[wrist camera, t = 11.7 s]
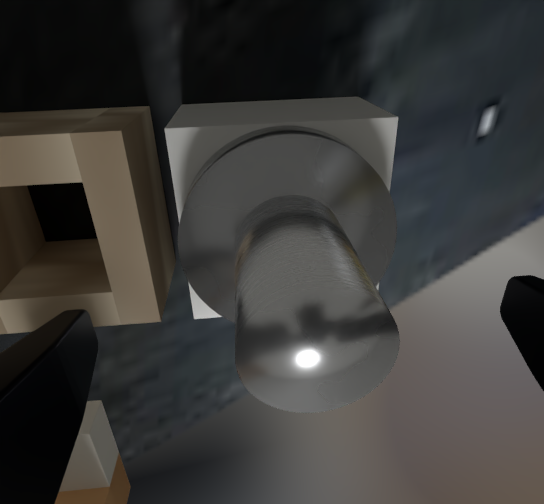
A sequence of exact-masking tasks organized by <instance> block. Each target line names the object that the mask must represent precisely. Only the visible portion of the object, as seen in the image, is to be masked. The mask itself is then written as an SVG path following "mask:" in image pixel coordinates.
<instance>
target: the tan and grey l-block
mask: <svg viewBox="0 0 544 504" xmlns="http://www.w3.org/2000/svg"><path fill="white" fill-rule="evenodd" d="M129 491H130V484H129V481H128V478H127V475H126V472H125V469H124V466H123V463H122V460H121V457H120V454H119V451H118V449H117V446H116V443H115V440H114V437H113V434H112V431H111V428H110V425H109V422H108V419H107V416H106V413H105V410H104V407H103V404H102V401H101V400H98V401H87V404H86V409H85V413H84V417H83V421H82V424H81V427H80V430H79V433H78V436H77V439H76V442H75V445H74V448H73V451H72V454H71V457H70V460H69V463H68V466H67V469H66V472H65V475H64V478H63V481H62V484H61V487H60V490H59V492H58V495H57V498H56V501H55V504H127V500H128V495H129Z"/></svg>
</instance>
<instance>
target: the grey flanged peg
mask: <svg viewBox="0 0 544 504" xmlns="http://www.w3.org/2000/svg"><path fill="white" fill-rule="evenodd" d="M396 234H397V221H396V212H395V208H394V204H393V200H392V198H391V195H390V193H389V191H388V188H387V187H386V185H385V183H384V182H383V180H382V178H381V177H380V176H379V174H378V173H377V172H376V171H375V170H374V168H373V167H372V166H371V165H370V164H369V163H368V162H367V161H366V160H365V159H363V158H362V157H361V156H360V155H359V154H358V153H357V152H356V151H355V150H354V149H353V148H351V147H350V146H349V145H348V144H346V143H345V142H343V141H342V140H340V139H339V138H337V137H335V136H333V135H330V134H328V133H326V132H323V131H320V130H317V129H313V128H309V127H302V126H287V125H282V126H273V127H266V128H263V129H259V130H255V131H252V132H249V133H247V134H244V135H242V136H240V137H238V138H236V139H234V140H232V141H231V142H229V143H227V144H226V145H225V146H223V147H222V148H221V149H219V150H218V151H217V152H215V153H214V154H213V155H212V156H211V157H210V158H209V159H208V160H207V161H206V163H205V164H204V165H203V167H202V168H201V169H200V171H199V172H198V173H197V175H196V177H195V179H194V180H193V182H192V184H191V186H190V189H189V191H188V194H187V197H186V200H185V204H184V207H183V211H182V214H181V219H180V223H179V228H178V251H179V257H180V261H181V265H182V268H183V271H184V273H185V276H186V278H187V280H188V282H189V283H190V285H191V287H192V289H193V290H194V291H195V293H196V294H197V295H198V296H199V298H200V299H201V300H202V301H203V302H204V303H205V304H206V305H207V306H208V307H209V308H211V309H212V310H213V311H215V312H216V313H217V314H219V315H220V316H222V317H224V318H226V319H227V320H229V321H231V322H234V323H235V363H236V369H237V372H238V375H239V378H240V380H241V381H242V383H243V385H244V386H245V387H246V388H247V390H248V391H249V392H250V393H251V394H252V395H253V396H255V397H256V398H257V399H259V400H260V401H262V402H264V403H266V404H268V405H270V406H272V407H275V408H278V409H281V410H286V411H291V412H299V413H300V412H301V413H314V412H322V411H328V410H332V409H336V408H340V407H343V406H345V405H348V404H350V403H353V402H355V401H357V400H358V399H360V398H362V397H364V396H365V395H366V394H368V393H370V392H371V391H372V390H373V389H375V388H376V387H377V386H378V385H379V384H380V383H381V382H382V381H383V380H384V379H385V378H386V376H387V375H388V374H389V372H390V370H391V369H392V367H393V365H394V363H395V361H396V358H397V355H398V351H399V341H400V340H399V332H398V328H397V325H396V323H395V321H394V319H393V317H392V315H391V313H390V311H389V309H388V308H387V306H386V304H385V302H384V301H383V299H382V297H381V295H380V293H379V292H378V290H377V288H376V286H377V285H378V283H379V282H380V280H381V279H382V277H383V276H384V274H385V272H386V270H387V268H388V266H389V264H390V261H391V258H392V255H393V252H394V248H395V243H396Z"/></svg>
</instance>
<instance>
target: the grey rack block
mask: <svg viewBox="0 0 544 504" xmlns="http://www.w3.org/2000/svg"><path fill="white" fill-rule="evenodd" d="M397 124H398V117H397V116H395V115H393V114H391V113H389V112H387V111H385V110H383V109H381V108H379V107H377V106H375V105H373V104H371V103H369V102H367V101H366V100H364V99H362V98H360V97H336V98H314V99H292V100H271V101H249V102H227V103H205V104H183V105H181V106H180V108H179V109H178V110H177V112H176V113H175V115H174V116H173V117H172V119H171V120H170V122H169V123H168V124H167V126H166V127H165V136H166V142H167V148H168V155H169V161H170V167H171V174H172V180H173V187H174V193H175V199H176V206H177V212H178V219H179V223H180V219H181V214H182V211H183V207H184V204H185V200H186V197H187V194H188V191H189V189H190V186H191V184H192V182H193V180H194V179H195V177H196V175H197V173H198V172H199V171H200V169H201V168H202V167H203V165H204V164H205V163H206V161H207V160H208V159H209V158H210V157H211V156H212V155H213V154H214V153H215V152H217V151H218V150H219V149H221V148H222V147H223V146H225V145H226V144H227V143H229V142H231V141H232V140H234V139H236V138H238V137H240V136H242V135H244V134H247V133H249V132H252V131H255V130H259V129H263V128H266V127H273V126H282V125H287V126H302V127H309V128H313V129H317V130H320V131H323V132H326V133H328V134H330V135H333V136H335V137H337V138H339V139H340V140H342V141H343V142H345V143H346V144H348V145H349V146H350V147H351V148H353V149H354V150H355V151H356V152H357V153H358V154H359V155H360V156H361V157H362V158H363V159H365V160H366V161H367V162H368V163H369V164H370V165H371V166H372V167H373V168H374V170H375V171H376V172H377V173H378V174H379V176H380V177H381V178H382V180H383V182H384V183H385V185H386V187H387V188H388V191H389V193H390V184H391V176H392V167H393V159H394V150H395V141H396V133H397ZM378 287H379V283H378V285H377V286H376V288H377V290H378ZM189 289H190V295H191V302H192V308H193V314H194V319H201V318H214V317H222V316H220V315H219V314H217V313H216V312H215V311H213V310H212V309H211V308H209V307H208V306H207V305H206V304H205V303H204V302H203V301H202V300H201V299H200V298H199V296H198V295H197V294H196V293H195V291H194V290H193V289H192V287H191V285H190V283H189Z"/></svg>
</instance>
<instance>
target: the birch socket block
mask: <svg viewBox="0 0 544 504" xmlns="http://www.w3.org/2000/svg"><path fill="white" fill-rule="evenodd" d="M77 182H83V186H84V190H85V193H86V197H87V201H88V205H89V208H90V212H91V216H92V219H93V223H94V227H95V230H96V234H97V239H82V240H66V241H51V242H46V240H45V237H44V234H43V231H42V228H41V226H40V223H39V220H38V217H37V214H36V211H35V208H34V205H33V202H32V199H31V196H30V193H29V190H28V187H27V185H41V184H59V183H77ZM175 263H176V260H175V254H174V248H173V242H172V236H171V230H170V224H169V218H168V212H167V207H166V201H165V195H164V189H163V183H162V177H161V171H160V165H159V159H158V154H157V148H156V142H155V136H154V130H153V124H152V118H151V112H150V106H139V107H117V108H96V109H74V110H52V111H30V112H8V113H0V334H9V333H21V332H33V331H35V330H36V329H38V328H39V327H41V326H42V325H44V324H45V323H47V322H48V321H50V320H51V319H53V318H54V317H56V316H57V315H59V314H60V313H62V312H63V311H66V310H76V309H85V310H87V311H88V313H89V314H90V317H91V320H92V324H93V327H98V326H111V325H124V324H137V323H150V322H161V319H162V315H163V311H164V307H165V303H166V299H167V295H168V291H169V287H170V283H171V279H172V275H173V271H174V267H175Z"/></svg>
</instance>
